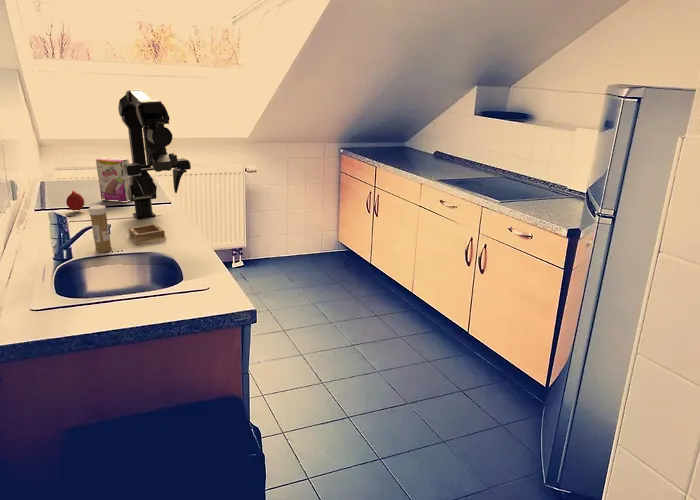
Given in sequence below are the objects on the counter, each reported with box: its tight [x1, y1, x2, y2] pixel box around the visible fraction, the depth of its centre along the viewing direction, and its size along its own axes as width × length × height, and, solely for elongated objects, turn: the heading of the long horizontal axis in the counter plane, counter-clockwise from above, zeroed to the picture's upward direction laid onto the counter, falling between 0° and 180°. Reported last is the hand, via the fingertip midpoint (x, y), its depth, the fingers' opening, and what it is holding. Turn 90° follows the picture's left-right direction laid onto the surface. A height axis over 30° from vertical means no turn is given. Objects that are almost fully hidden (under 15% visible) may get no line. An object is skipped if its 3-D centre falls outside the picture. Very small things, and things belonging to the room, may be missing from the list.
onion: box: [65, 189, 85, 211], centre depth 205 cm, size 6×6×8 cm
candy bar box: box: [95, 156, 131, 201], centre depth 218 cm, size 11×5×16 cm, turn 77°
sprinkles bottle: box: [88, 204, 112, 254], centre depth 167 cm, size 5×5×13 cm
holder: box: [128, 223, 167, 246], centre depth 180 cm, size 9×9×3 cm
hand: (160, 194), depth 175 cm, fingers open, 9 cm apart
